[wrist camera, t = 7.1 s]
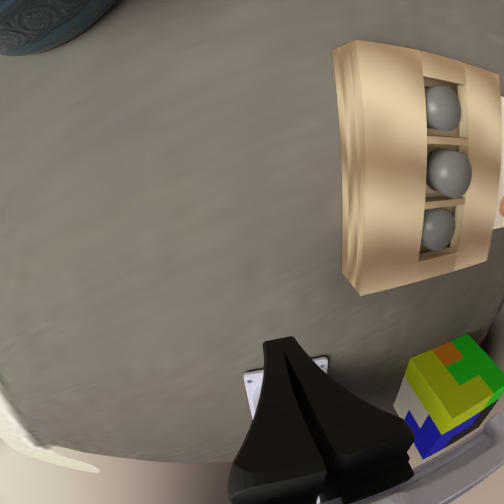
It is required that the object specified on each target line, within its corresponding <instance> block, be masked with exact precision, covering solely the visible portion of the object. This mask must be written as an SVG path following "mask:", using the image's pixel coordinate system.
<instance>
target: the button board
mask: <svg viewBox="0 0 504 504" xmlns="http://www.w3.org/2000/svg"><path fill="white" fill-rule="evenodd" d="M332 56H333V64H334V72H335V81H336V90H337V101H338V113H339V126H340V141H341V161H342V194H343V243H342V273H343V275H344V276H345V277H346V278H347V279H348V281H349V282H350V283H351V284H352V286H353V287H354V288H355V289H356V291H357V292H358V293H359V295H360V296H363V295H367V294H371V293H375V292H379V291H383V290H387V289H391V288H395V287H399V286H403V285H406V284H410V283H414V282H418V281H421V280H425V279H428V278H432V277H436V276H439V275H442V274H446V273H449V272H453V271H456V270H459V269H463V268H466V267H469V266H472V265H475V264H479V263H482V262H485V261H487V256H488V252H489V247H490V243H491V238H492V232H493V227H494V221H495V215H496V208H497V200H498V192H499V182H500V170H501V152H502V112H501V94H500V83H499V75H497V74H494V73H492V72H489V71H486V70H484V69H481V68H478V67H475V66H472V65H469V64H466V63H463V62H460V61H457V60H453V59H450V58H446V57H443V56H439V55H435V54H431V53H427V52H423V51H419V50H414V49H410V48H405V47H400V46H394V45H388V44H382V43H376V42H369V41H361V40H354V41H352V42H350V43H347V44H345V45H343V46H341V47H338V48H336V49H334V50H332ZM424 86H446V87H449V88H450V89H451V90H453V91H454V93H455V94H456V95H457V97H458V99H459V102H460V106H461V118H460V122H459V124H458V126H457V127H456V128H455V129H454V130H452V131H443V130H437V129H431V128H427V121H426V101H425V88H424ZM436 148H444V149H448V150H452V151H456V152H459V153H463V154H464V155H465V156H466V157H467V158H468V159H469V161H470V164H471V168H472V178H471V183H470V186H469V188H468V190H467V192H466V193H465V194H464V195H463V196H462V197H460V198H457V199H453V198H450V197H448V196H446V195H444V194H441V193H439V192H437V191H435V190H432V189H431V188H430V187H429V186H428V185H427V183H426V174H427V157H428V155H429V154H430V152H431V151H433V150H434V149H436ZM432 208H442V209H444V210H446V211H448V212H450V213H451V214H452V215H453V217H454V219H455V231H454V235H453V237H452V239H451V241H450V242H449V244H448V245H447V246H446V247H445V248H444V249H442V250H440V251H432V250H431V249H429V248H428V247H426V246H425V245H424V244H422V243H421V237H422V229H423V219H424V209H432Z"/></svg>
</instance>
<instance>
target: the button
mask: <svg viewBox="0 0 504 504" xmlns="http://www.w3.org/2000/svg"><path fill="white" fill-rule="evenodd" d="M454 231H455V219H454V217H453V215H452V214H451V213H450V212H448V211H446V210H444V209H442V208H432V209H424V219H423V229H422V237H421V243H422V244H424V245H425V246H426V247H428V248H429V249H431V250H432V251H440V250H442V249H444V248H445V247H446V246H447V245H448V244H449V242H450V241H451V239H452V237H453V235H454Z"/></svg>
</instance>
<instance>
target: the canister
mask: <svg viewBox="0 0 504 504" xmlns="http://www.w3.org/2000/svg"><path fill="white" fill-rule="evenodd" d="M116 1H117V0H0V54H1V55H7V56H23V55H31V54H37V53H41V52H45V51H48V50H51V49H53V48H56V47H58V46H60V45H62V44H64V43H66V42H68V41H69V40H71V39H73V38H74V37H76V36H77V35H79V34H80V33H82V32H83V31H85V30H86V29H87V28H89V27H90V26H91V25H93V24H94V23H95V22H96V21H97V20H98V19H100V18H101V17H102V16H103V15H104V14H105V13H106V12H107V11H108V10H109V9H110V8H111V7H112V6H113V5H114V4H115V2H116Z"/></svg>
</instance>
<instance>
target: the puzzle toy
mask: <svg viewBox="0 0 504 504" xmlns="http://www.w3.org/2000/svg"><path fill="white" fill-rule="evenodd" d="M503 392H504V373H503V372H502V371H501V370H500V369H499V367H498V366H497V365H496V364H495V363H494V362H493V361H492V360H491V358H490V357H489V356H488V355H487V354H486V353H485V352H484V351H483V350H482V349H481V348H480V346H479V345H478V344H477V343H476V342H475V341H474V340H473V339H472V338H471V337H470V336H469V335H468V334H465V335H463V336H461V337H459V338H457V339H455V340H452V341H450V342H448V343H446V344H443V345H441V346H439V347H437V348H434V349H432V350H429V351H427V352H425V353H422V354H420V355H417V356H415V357H412V358H410V360H409V363H408V366H407V369H406V372H405V375H404V378H403V381H402V384H401V386H400V389H399V392H398V395H397V397H396V400H395V402H394V405H393V406H394V408H395V410H396V412H397V414H398V415H399V417H400V418H403V419H404V420H405V422H406V423H407V424H408V425H409V427H410V428H411V430H412V431H413V433H414V435H415V439H414V444H415V446H416V448H417V449H418V451H419V453H420V455H421V457H422V459H425V458H427V457H429V456H431V455H432V454H434V453H436V452H438V451H440V450H442V449H443V448H445V447H447V446H449V445H450V444H452V443H454V442H455V441H457V440H458V439H460V438H462V437H464V436H465V435H467V434H468V433H470V432H471V431H473V430H474V429H476V428H477V427H479V426H480V424H481V423H482V422H483V420H484V419H485V418H486V416H487V415H488V413H489V412H490V411H491V409H492V408H493V406H494V405H495V404H496V402H497V401H498V399H499V397H500V396H501V395H502V393H503Z"/></svg>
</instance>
